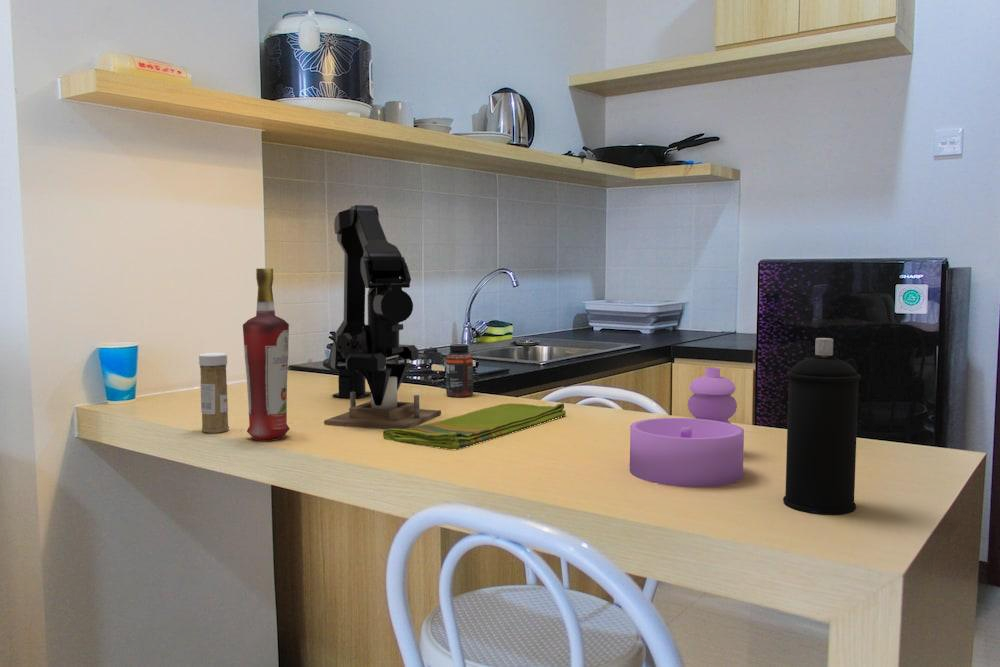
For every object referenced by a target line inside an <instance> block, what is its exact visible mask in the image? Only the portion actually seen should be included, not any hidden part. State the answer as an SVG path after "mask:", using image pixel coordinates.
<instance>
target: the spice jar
mask: <svg viewBox="0 0 1000 667" xmlns="http://www.w3.org/2000/svg"><path fill="white" fill-rule="evenodd" d="M198 364H199V368H200V407H201V408H200V411H201V423H202V426H201V431H202V432H203V433H206V434H207V433H208V434H219V433H224V432H227V431H228V430H229V429H230V427H229V413H228V411H229V404H228V403H229V402H228V385H227V384H228V383H227V364H228V355H227V353H225V352H205V353H200V354H199V356H198Z"/></svg>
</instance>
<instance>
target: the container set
mask: <svg viewBox="0 0 1000 667" xmlns="http://www.w3.org/2000/svg"><path fill="white" fill-rule="evenodd" d="M704 368H705V375H703V376H700V377H697V378H695V379H693V380H692V381H691V383H690V385H689V390H690V391H691V392H692V393H693V394H692V395H691V396H689V399H687V400H688V401H687V409H688V411H689V412H690V414H691V415H692V416H693V418H691V417H662V418H661V417H660V418H657V417H656V418H647V419H643V420H639V421H638V420H637V421H635V422H632V423H631V424H630V426H629V427H630V428H629V431H630V432H629V433H630V434H629V473H630V474H631V475H632V476H633V477H635V478H636V479H640V480H643V481H646V482H649V483H653V484H654V483H655V484H659V485H664V486H672V487H684V488H712V487H715V488H716V487H722V486H723V487H724V486H729V485H732V484H735V483H736V484H737V482H740V481H741V480H742V479H743V477H744V448H745V445H744V444H745V442H744V441H745V440H744V439H745V430H744V428H743V427H741V426H738V425H737V424H733V423H731V422H730V421H729V420H730V418H732V417H733V416H734V415H735V413H736V412H737V408H738V405H737V401H736V399H735V397H733V396H732V395H733V394H734V393H735V391H736V389H737V388H736V384H735V383H734V382H733V381H731V380H730V379H729V378H727V377H723V376H721V367H704Z"/></svg>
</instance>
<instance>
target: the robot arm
mask: <svg viewBox="0 0 1000 667" xmlns="http://www.w3.org/2000/svg"><path fill="white" fill-rule="evenodd" d="M379 215H380V214H379V209H378V207H377V206H374V205H373V204H370V205H369V204H368V205H367V204H365V205H364V204H363V205H362V204H354V205H351V206H350V208H348V209H345V210H342V211H339V212H338V213H337V215H336V216H335V218H334V223H333V226H334V229H333V230H334V233H335V235H336V241H337V242H338V244H339V246H340V247H341V249H342V251H343V253H344V265H343V266H344V268H343V269H344V270H343V271H344V272H343V273H344V274H343V278H344V279H343V282H344V283H343V320H342V322H341V323H340V326H339V327H338V328H337V330H336V331H335V341H333V343H332V347H331V353H330V367H331V369H333V370H334V371H335V370H338V392H336V393H333V394H332V397H333V398H335V397H336V398H349V399H350V392H356V399H360V398H363V397H367V396H371V394H372V397H373V400H374V403H375V405H377V406H380V405H381V404H382V401H383V398H384V395H385V391H386V387H387V384H388V380H389V377H390V376H394V377H397V392H398V391H399V388H400V387H401V384H402V382H403V380H404V378H405V375H406V374H407V371H408V369H409V368H410V367H411V365H412V363H411V362H405V360H410V361H412V362H413V361H417V360H419V348H417V346H416V345H415V344H400V331H403V330H404V324H403V322H404V321H406V320H407V319H409V318H410V316H412V313H413V310H414V302H413V300H412V297H411V296H410V295H409V294H408V293H407V292H406V291H404V290H403V288H404V289H407V288H410V287H411V281H412V278H411V274H410V271H409V270H410V269H409V267H408V263H407V262H406V260H405V257H404V256H402V253H401V251H400V250H399V247H397V246H396V245H394V244H392V243H391V242H388V240H387V236H386V235H385V232H384V230H383V226H382V224H381V222H380V216H379ZM366 289H368V290H367V296H366ZM366 297H367V324H366V321H365V318H366V313H365V312H366V311H365V310H366ZM401 322H402V323H401ZM366 383H367V384H368V387H369V390H370V391H366Z"/></svg>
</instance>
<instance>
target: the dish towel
mask: <svg viewBox="0 0 1000 667" xmlns="http://www.w3.org/2000/svg"><path fill="white" fill-rule="evenodd" d="M566 414H567V413H566V410H565V403H558V404H556V405H555V406H554V405H553V406H552V405H541V406H540V405H534V404H527V403H526V404H525V403H511V402H510V403H505V404H504V403H501V404H497V405H494V406H489V407H485V408H482V409H478V410H474V411H473V410H472V411H470V412H468V413H464V414H461V415H457V416H453V417H449V418H447V419H443V420H438V421H434V422H431V423H426V424H420V425H417V426H414V427H411V428H406V429H383V431H382V434H383V435H382V437H383V440H386V441H392V440H393V441H392V442H398V441H399V443H404V442H406V444H410V443H413V444H412V445H416V444H418V446H422V445H425V446H424V447H428V446H433V447H432V448H435V447H440V448H439V449H441V448H447V449H446V450H448V449H458V450H460V449H459V448H461V449H464V448H463V447H465V448H467V447H466V446H468V447H471V446H470V445H472V446H474V445H473V444H475V445H477V444H476V443H478V444H480V443H479V442H482V443H484V442H483V441H485V442H487V441H486V440H488V441H490V440H489V439H491V440H494V439H493V438H495V439H497V438H496V437H498V438H500V437H499V436H501V437H504V436H503V435H505V436H507V435H506V434H508V435H510V434H509V433H511V434H513V433H512V432H514V433H516V432H515V431H518V430H521V429H524V428H527V427H530V426H534V425H537V424H540V423H544V422H547V421H549V420H552V419H555V418H558V417H561V416H564V415H565V416H566ZM565 416H564V417H565ZM547 423H548V422H547ZM544 424H545V423H544ZM537 426H538V425H537ZM534 427H535V426H534ZM527 429H528V428H527ZM524 430H525V429H524ZM521 431H522V430H521ZM518 432H519V431H518Z"/></svg>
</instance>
